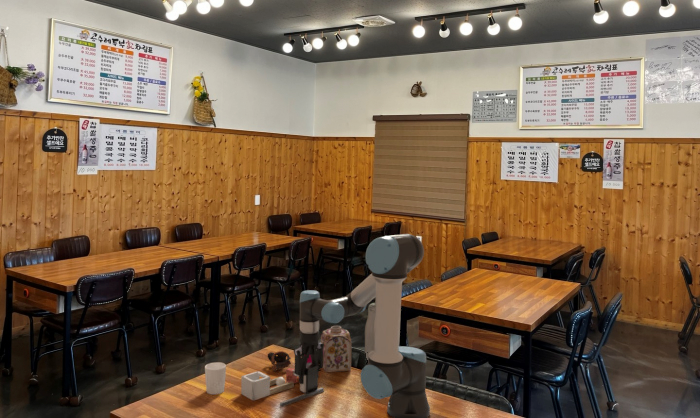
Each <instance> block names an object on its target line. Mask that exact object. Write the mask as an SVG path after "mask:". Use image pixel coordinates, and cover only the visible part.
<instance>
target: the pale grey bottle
mask: <svg viewBox="0 0 700 418" xmlns="http://www.w3.org/2000/svg"><path fill="white" fill-rule="evenodd" d="M367 312H368V314H367V320H366V323H365V327H364V354H365V353H366V358H367V360H368V355H369V353H370V352H371V351H373V344H374V321H375V302H372V303H370V304H368V307H367ZM367 352H368V353H367Z"/></svg>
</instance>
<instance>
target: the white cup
mask: <svg viewBox="0 0 700 418" xmlns="http://www.w3.org/2000/svg"><path fill="white" fill-rule="evenodd" d="M226 370H227V365H226V364H225V363H224V362H221V361H220V362H219V361H218V362H210V363H207V364H206V365H204V376H205V385H206V386H205V387H206V388H205V389H206V393H207V394H208V395H220V394H222V393H224V392H225V384H226V372H227V371H226Z"/></svg>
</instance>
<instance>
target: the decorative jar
mask: <svg viewBox="0 0 700 418" xmlns="http://www.w3.org/2000/svg"><path fill="white" fill-rule="evenodd" d="M320 343H323V344H324V348H323V368H322V370H323V371H324V372H325V373H334V372H336V373H337V372H348V371H349V372H350V371H351V370H352V338H351V334H350V332H349V330H347V329H344V328H342V326H340V325H333V326H331V327H330V328H327V329H325V330H322V333H321V334H320Z"/></svg>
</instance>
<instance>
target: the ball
mask: <svg viewBox="0 0 700 418" xmlns="http://www.w3.org/2000/svg"><path fill="white" fill-rule="evenodd" d="M278 377H279V378H278ZM278 377H276V378H277V380H276V384H275V385H276V386H279V385H282V384H285V383H286V378H284V377H283V376H282V377H283V378H282V377H281V376H278Z"/></svg>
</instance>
